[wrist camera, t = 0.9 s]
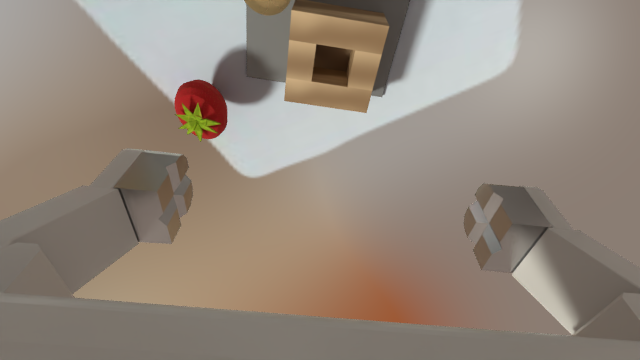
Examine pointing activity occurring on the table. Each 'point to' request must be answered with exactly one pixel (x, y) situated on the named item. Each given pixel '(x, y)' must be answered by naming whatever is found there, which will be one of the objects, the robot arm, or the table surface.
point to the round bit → (267, 6)
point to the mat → (274, 31)
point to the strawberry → (201, 109)
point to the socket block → (333, 55)
